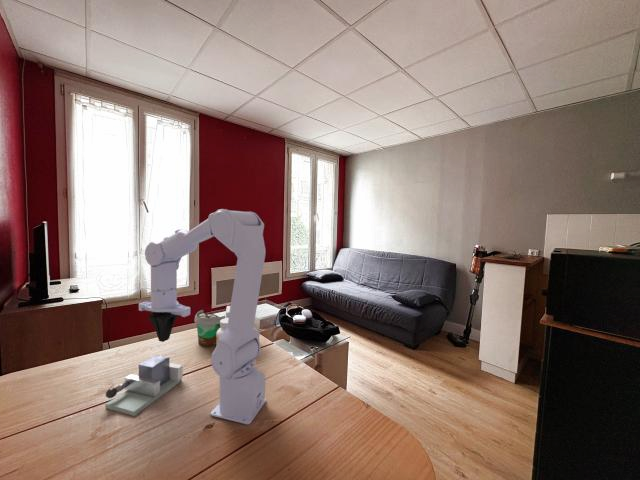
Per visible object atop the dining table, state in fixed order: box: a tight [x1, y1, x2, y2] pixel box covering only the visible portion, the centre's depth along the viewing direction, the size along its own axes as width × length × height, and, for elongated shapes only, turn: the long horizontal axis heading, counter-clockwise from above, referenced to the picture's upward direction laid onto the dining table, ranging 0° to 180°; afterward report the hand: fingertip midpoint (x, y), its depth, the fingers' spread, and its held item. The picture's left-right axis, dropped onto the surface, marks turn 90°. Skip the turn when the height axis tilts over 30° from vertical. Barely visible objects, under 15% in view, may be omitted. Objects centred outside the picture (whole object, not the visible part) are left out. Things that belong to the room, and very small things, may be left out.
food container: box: [194, 309, 226, 348], centre depth 88 cm, size 12×6×10 cm, turn 62°
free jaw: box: [105, 374, 160, 399], centre depth 58 cm, size 9×6×3 cm
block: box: [138, 354, 170, 386], centre depth 64 cm, size 5×4×6 cm
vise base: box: [105, 362, 184, 417], centre depth 62 cm, size 9×13×4 cm, turn 165°
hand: (164, 339), depth 67 cm, fingers closed
